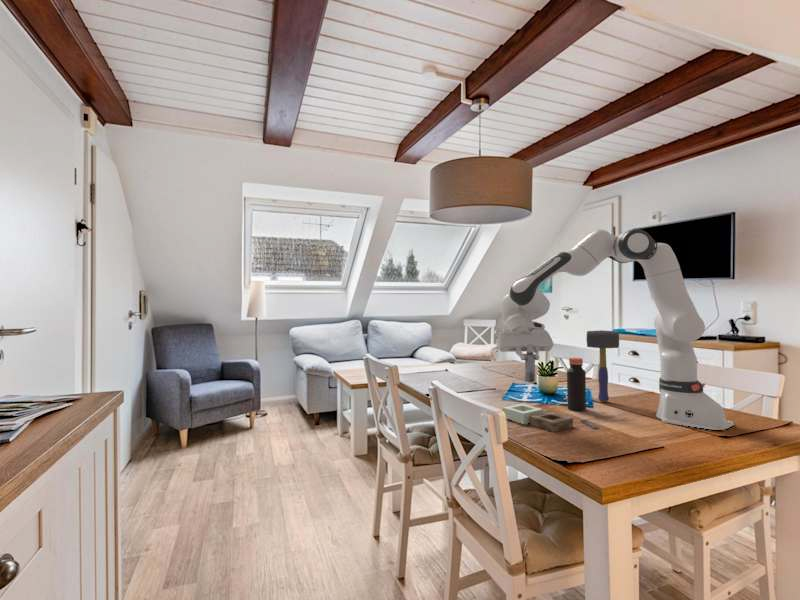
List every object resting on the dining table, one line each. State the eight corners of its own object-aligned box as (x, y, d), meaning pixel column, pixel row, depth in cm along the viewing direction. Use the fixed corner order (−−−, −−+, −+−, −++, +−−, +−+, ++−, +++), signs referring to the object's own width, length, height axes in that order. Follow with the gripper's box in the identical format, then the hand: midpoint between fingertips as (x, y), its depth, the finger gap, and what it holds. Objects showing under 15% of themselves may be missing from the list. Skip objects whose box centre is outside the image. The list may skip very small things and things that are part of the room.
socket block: (573, 426, 146) (572, 418, 146) (553, 432, 141) (553, 422, 141) (549, 420, 155) (549, 411, 155) (529, 424, 150) (529, 416, 150)
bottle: (582, 406, 172) (581, 357, 172) (588, 411, 165) (587, 359, 165) (565, 406, 173) (564, 357, 173) (570, 411, 166) (569, 359, 166)
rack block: (543, 420, 155) (543, 409, 155) (523, 424, 149) (523, 413, 149) (522, 414, 163) (521, 403, 163) (503, 418, 158) (502, 407, 158)
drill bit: (536, 381, 153) (537, 344, 153) (530, 382, 151) (530, 345, 151) (529, 379, 156) (529, 344, 155) (522, 380, 154) (523, 344, 154)
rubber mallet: (587, 402, 179) (586, 330, 179) (587, 398, 186) (586, 329, 186) (620, 405, 174) (619, 331, 174) (619, 400, 181) (618, 329, 181)
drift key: (598, 430, 144) (598, 426, 144) (592, 430, 143) (592, 426, 143) (586, 423, 152) (586, 419, 152) (580, 423, 151) (580, 420, 151)
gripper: (495, 324, 159) (504, 354, 149) (547, 324, 161) (560, 353, 151) (491, 335, 163) (500, 364, 154) (542, 334, 166) (554, 364, 156)
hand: (530, 359), depth 153 cm, fingers closed on drill bit, 3 cm apart
